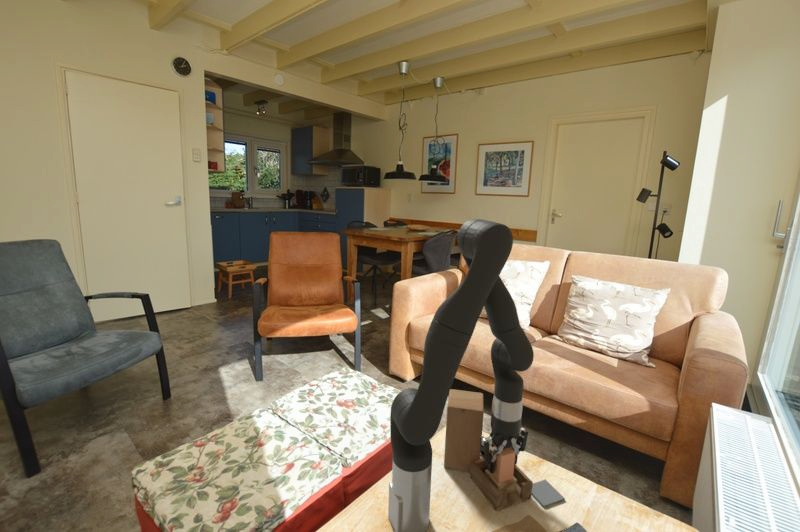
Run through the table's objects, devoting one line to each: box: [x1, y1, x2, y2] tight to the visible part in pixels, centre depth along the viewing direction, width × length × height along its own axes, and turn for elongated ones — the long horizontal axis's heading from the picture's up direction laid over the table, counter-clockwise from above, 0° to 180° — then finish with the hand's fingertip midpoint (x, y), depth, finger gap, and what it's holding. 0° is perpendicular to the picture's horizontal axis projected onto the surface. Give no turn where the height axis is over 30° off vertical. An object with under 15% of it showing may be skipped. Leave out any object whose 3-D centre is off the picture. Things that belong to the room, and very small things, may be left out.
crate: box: [470, 458, 534, 512], centre depth 102 cm, size 11×12×5 cm
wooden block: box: [443, 388, 485, 474], centre depth 111 cm, size 10×10×20 cm
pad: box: [531, 479, 566, 509], centre depth 101 cm, size 7×7×1 cm
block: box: [491, 445, 516, 483], centre depth 101 cm, size 4×4×8 cm
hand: (501, 468), depth 102 cm, fingers open, 6 cm apart
